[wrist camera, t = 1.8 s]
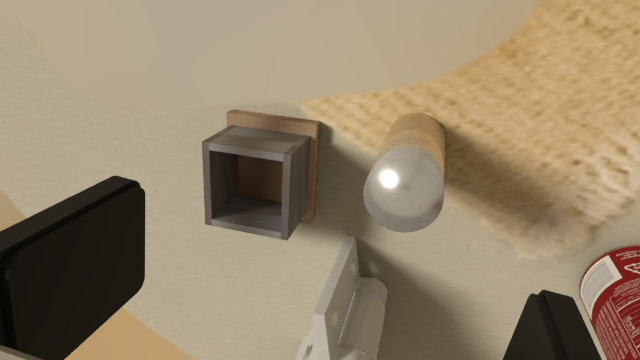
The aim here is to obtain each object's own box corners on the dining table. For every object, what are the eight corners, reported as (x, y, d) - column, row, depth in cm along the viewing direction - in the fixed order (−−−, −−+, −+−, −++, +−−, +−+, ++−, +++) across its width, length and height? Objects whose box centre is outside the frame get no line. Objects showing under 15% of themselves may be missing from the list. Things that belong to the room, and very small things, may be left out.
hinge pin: (449, 117, 30) (450, 165, 21) (439, 171, 32) (436, 238, 23) (390, 109, 31) (367, 153, 22) (383, 163, 33) (359, 224, 24)
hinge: (346, 231, 36) (313, 310, 27) (410, 258, 35) (397, 348, 26) (296, 350, 42) (255, 448, 33) (350, 375, 41) (323, 481, 32)
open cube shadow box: (320, 121, 33) (297, 142, 28) (313, 218, 36) (292, 252, 31) (232, 109, 34) (195, 127, 29) (233, 203, 37) (200, 234, 32)
